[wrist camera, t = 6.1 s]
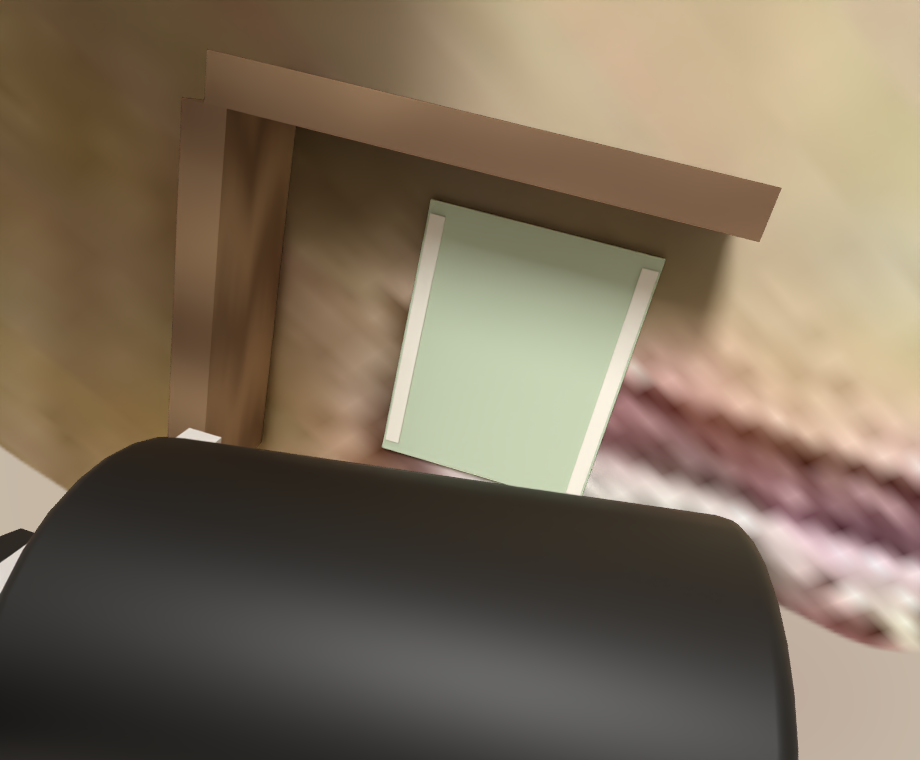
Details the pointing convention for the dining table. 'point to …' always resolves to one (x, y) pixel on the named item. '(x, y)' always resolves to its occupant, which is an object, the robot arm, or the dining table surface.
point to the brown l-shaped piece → (376, 123)
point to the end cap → (381, 620)
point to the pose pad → (515, 348)
